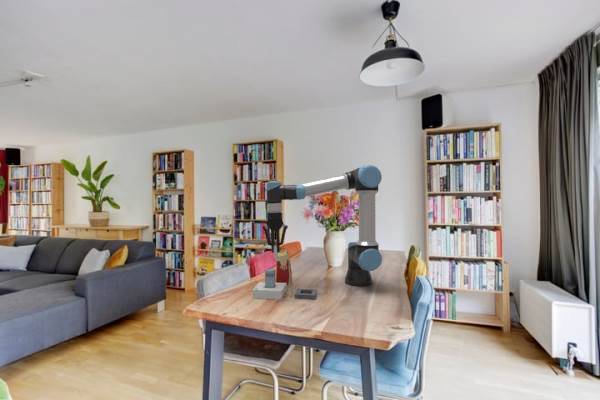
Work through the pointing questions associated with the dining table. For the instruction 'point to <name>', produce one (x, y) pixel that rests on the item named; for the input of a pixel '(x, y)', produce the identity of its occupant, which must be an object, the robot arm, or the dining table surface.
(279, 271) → the milk carton
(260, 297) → the port
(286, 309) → the dining table surface
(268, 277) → the plug
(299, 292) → the dark grey square base
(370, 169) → the robot arm
